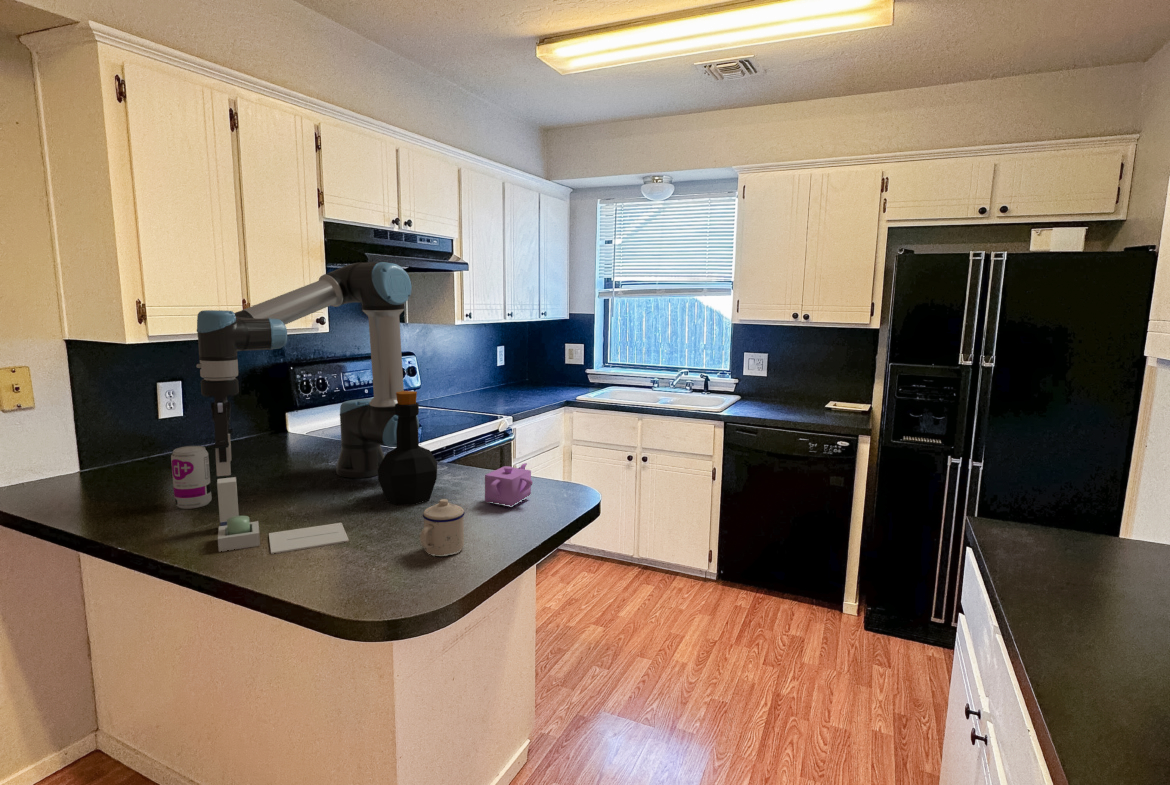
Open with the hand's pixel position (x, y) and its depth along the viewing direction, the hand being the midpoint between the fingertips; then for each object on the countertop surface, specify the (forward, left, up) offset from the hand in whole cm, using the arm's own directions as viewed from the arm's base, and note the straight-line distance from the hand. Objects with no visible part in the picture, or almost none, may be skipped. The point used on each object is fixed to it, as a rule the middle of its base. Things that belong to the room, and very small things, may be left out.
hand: (224, 467), depth 146 cm
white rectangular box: (0, 0, -15) cm, 15 cm away
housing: (-2, +10, -15) cm, 18 cm away
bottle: (-44, -5, -15) cm, 46 cm away
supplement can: (+8, -23, -15) cm, 29 cm away
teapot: (-68, +10, -15) cm, 71 cm away
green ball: (-2, +10, -13) cm, 17 cm away
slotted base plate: (-16, +14, -15) cm, 26 cm away
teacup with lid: (-41, +34, -15) cm, 56 cm away
